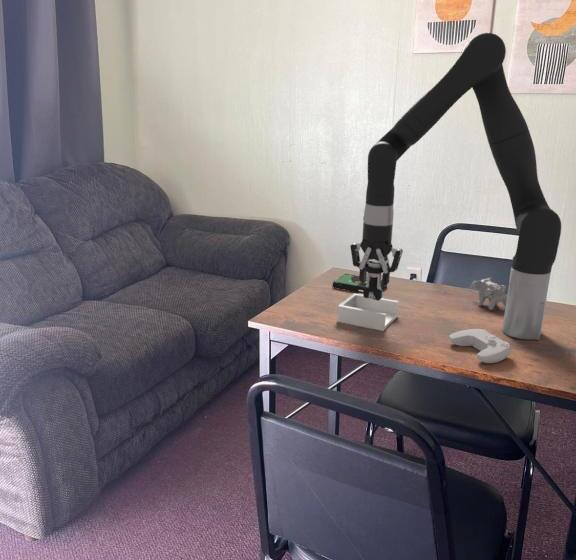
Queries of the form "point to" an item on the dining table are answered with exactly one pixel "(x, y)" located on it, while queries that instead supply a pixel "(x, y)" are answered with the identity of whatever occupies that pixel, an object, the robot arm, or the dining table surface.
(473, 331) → the game controller
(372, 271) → the push button
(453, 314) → the dining table surface
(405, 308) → the dining table surface
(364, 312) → the box
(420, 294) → the dining table surface
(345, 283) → the disk drive
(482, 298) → the elephant statuette
